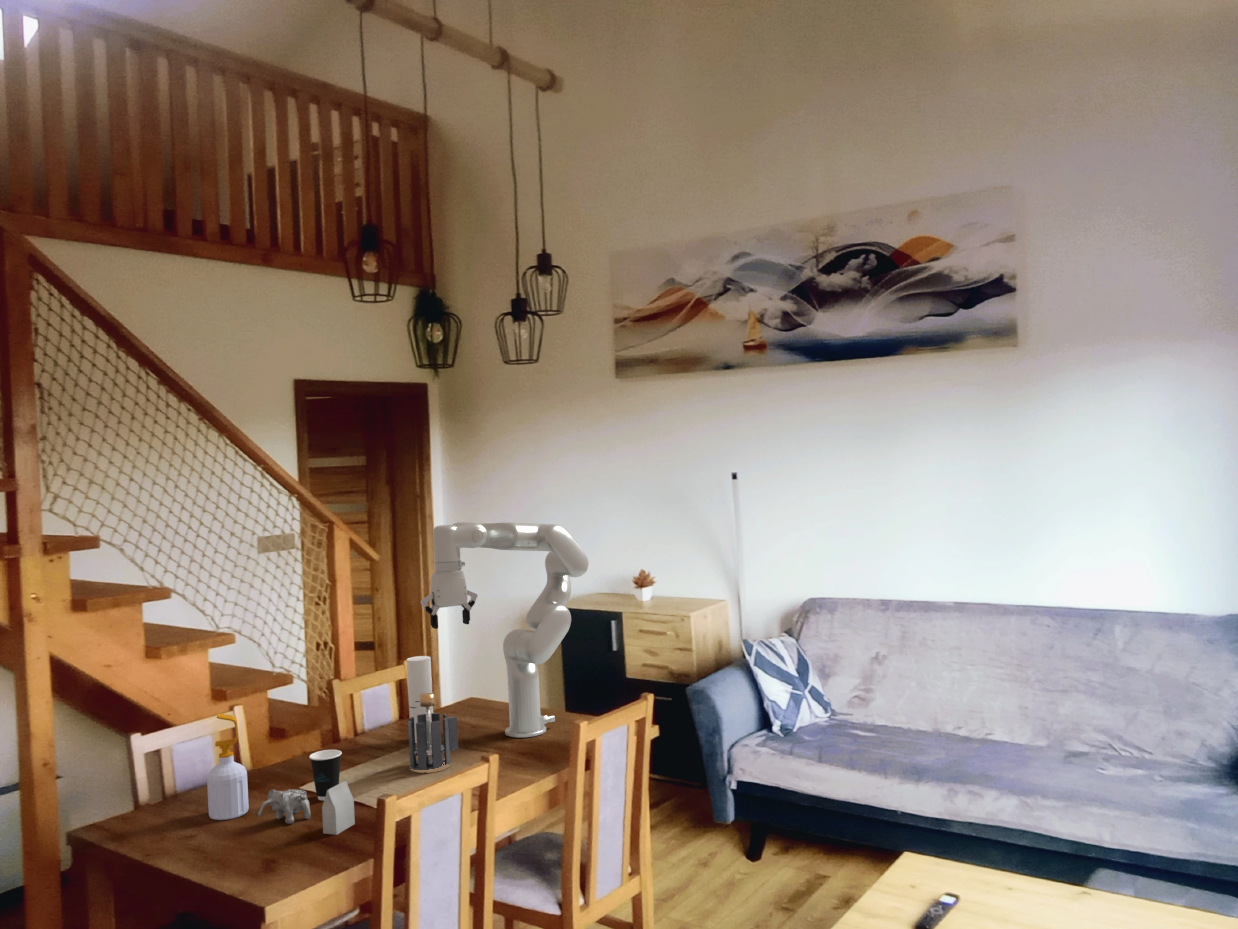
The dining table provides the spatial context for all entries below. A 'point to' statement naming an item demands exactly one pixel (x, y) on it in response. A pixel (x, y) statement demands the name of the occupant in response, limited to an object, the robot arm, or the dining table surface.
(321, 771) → the dixie cup
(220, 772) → the soap bottle
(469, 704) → the dining table surface
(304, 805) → the gray elephant figurine
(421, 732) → the frame
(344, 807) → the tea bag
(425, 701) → the plunger
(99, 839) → the dining table surface
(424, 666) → the cylindrical container
